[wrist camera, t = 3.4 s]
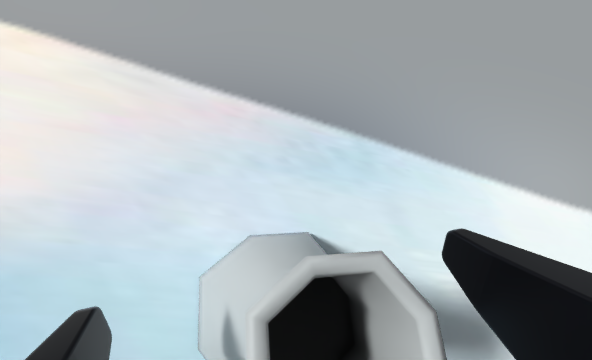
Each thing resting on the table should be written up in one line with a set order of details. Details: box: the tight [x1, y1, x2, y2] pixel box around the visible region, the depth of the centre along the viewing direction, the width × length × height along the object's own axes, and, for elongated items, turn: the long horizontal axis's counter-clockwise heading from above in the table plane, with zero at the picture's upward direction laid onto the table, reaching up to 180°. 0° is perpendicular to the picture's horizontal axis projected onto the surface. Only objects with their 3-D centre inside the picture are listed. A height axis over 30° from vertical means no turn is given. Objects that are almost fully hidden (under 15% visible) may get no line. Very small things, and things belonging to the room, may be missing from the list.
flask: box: [198, 232, 447, 360], centre depth 9 cm, size 7×7×10 cm
